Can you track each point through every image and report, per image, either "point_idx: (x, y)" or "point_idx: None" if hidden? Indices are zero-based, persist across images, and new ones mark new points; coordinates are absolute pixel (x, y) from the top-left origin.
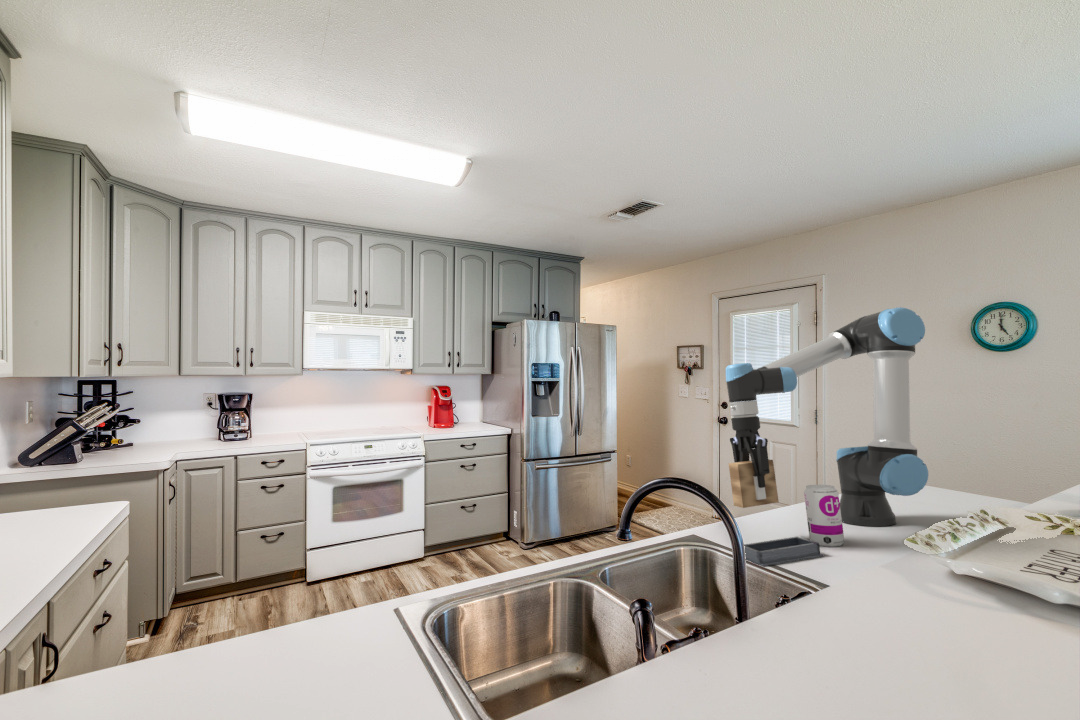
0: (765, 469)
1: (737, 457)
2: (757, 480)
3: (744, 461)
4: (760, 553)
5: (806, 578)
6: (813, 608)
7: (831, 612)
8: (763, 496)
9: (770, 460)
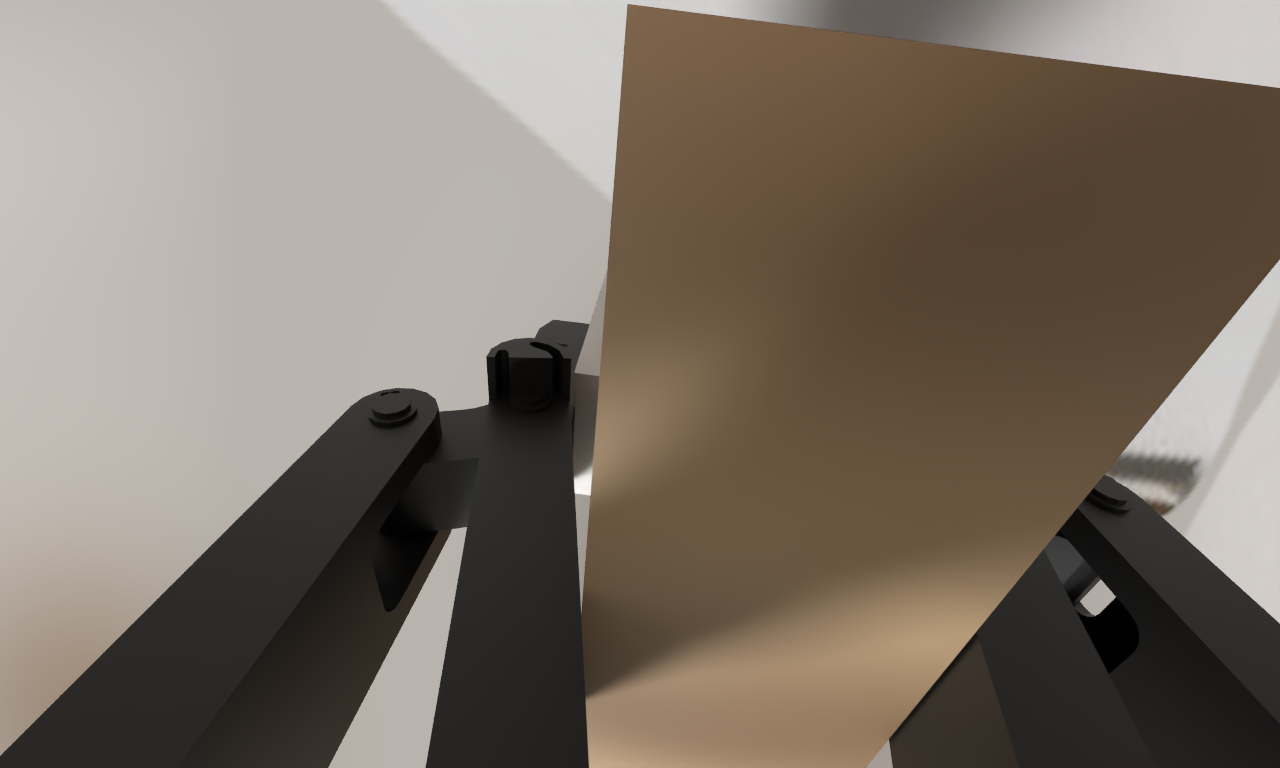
0: (1082, 542)
1: (315, 755)
2: None
3: (600, 691)
4: None
5: (1121, 464)
6: None
7: (1252, 590)
8: None
9: (1264, 265)
